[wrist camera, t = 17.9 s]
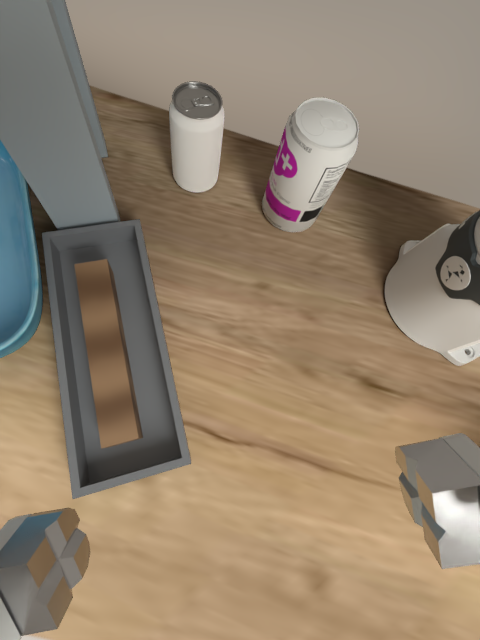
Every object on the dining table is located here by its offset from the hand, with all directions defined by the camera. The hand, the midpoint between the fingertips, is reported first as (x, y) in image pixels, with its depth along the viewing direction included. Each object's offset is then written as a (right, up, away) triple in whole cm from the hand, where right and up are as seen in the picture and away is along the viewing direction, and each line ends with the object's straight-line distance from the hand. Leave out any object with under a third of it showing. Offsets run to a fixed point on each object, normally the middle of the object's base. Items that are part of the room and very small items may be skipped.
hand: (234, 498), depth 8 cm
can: (-6, +25, +41) cm, 49 cm away
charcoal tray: (-14, +1, +31) cm, 35 cm away
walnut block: (-15, +1, +30) cm, 34 cm away
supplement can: (+7, +20, +41) cm, 47 cm away
